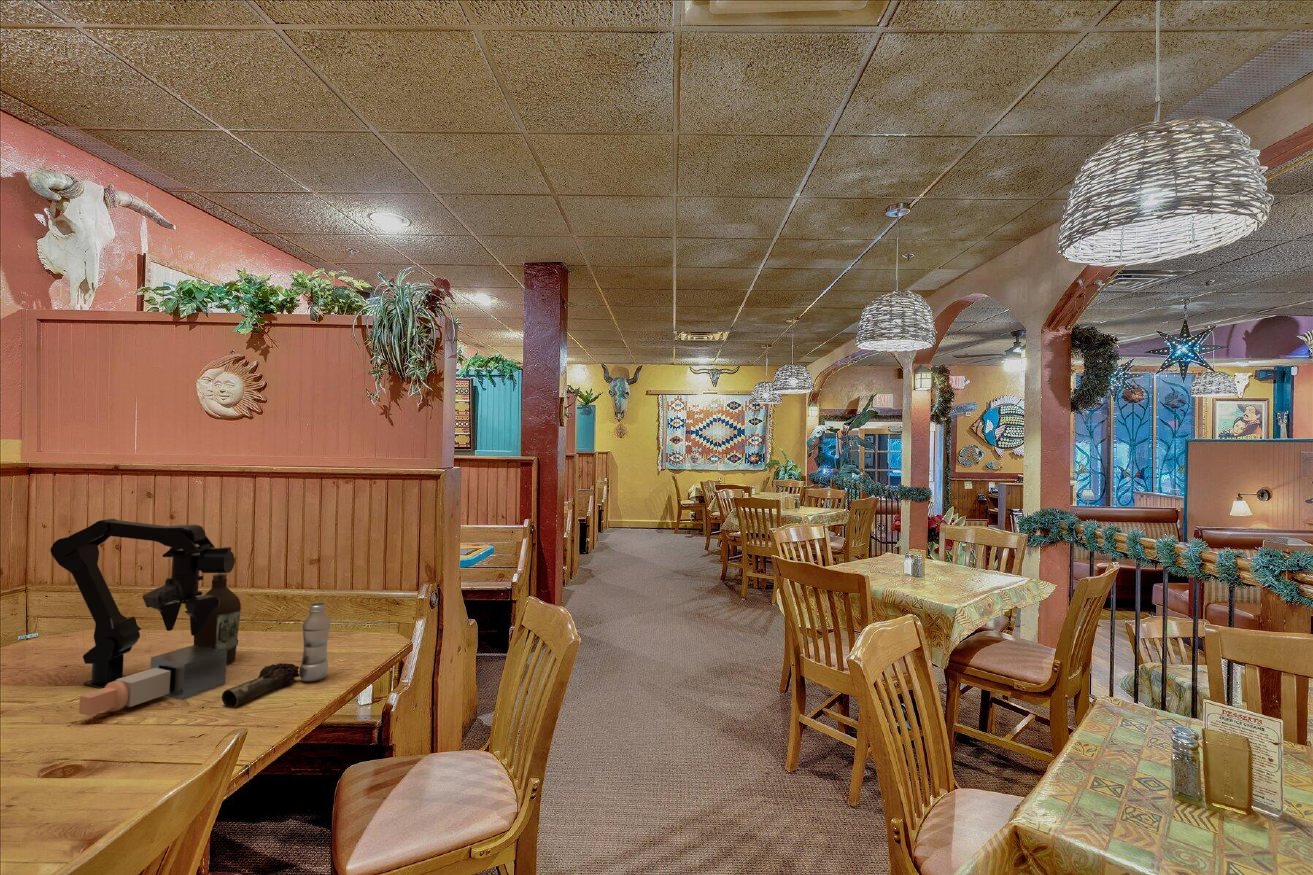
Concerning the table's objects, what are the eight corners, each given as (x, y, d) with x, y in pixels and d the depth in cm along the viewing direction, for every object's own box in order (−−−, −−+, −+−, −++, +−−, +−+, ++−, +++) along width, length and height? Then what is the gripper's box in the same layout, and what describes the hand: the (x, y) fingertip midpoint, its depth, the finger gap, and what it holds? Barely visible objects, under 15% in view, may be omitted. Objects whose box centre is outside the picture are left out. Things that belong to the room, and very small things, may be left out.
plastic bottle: (306, 675, 153) (310, 601, 154) (332, 674, 154) (336, 601, 154) (293, 684, 147) (297, 607, 147) (321, 684, 147) (325, 607, 148)
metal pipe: (236, 710, 132) (237, 686, 132) (215, 706, 134) (216, 682, 134) (302, 681, 149) (303, 660, 149) (283, 678, 151) (284, 657, 151)
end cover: (73, 717, 124) (75, 688, 124) (152, 691, 138) (154, 665, 138) (92, 722, 122) (94, 693, 122) (170, 695, 136) (172, 668, 136)
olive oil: (180, 667, 155) (185, 576, 156) (216, 654, 166) (221, 569, 166) (212, 671, 153) (218, 579, 154) (247, 658, 164) (252, 572, 165)
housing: (148, 691, 140) (151, 657, 140) (192, 677, 149) (194, 644, 150) (182, 699, 136) (184, 663, 136) (225, 683, 146) (227, 650, 146)
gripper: (125, 575, 144) (121, 637, 143) (176, 582, 138) (171, 646, 138) (173, 568, 155) (170, 625, 154) (222, 574, 149) (219, 633, 148)
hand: (181, 632), depth 148 cm, fingers open, 9 cm apart
